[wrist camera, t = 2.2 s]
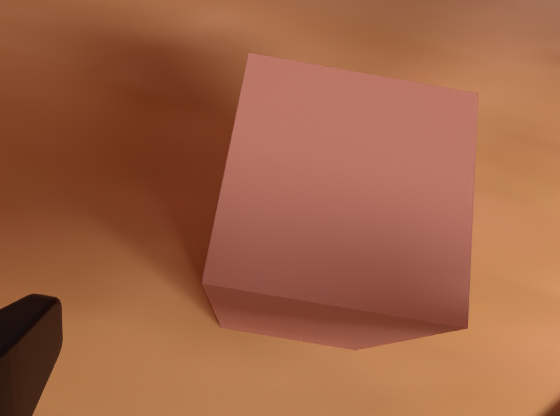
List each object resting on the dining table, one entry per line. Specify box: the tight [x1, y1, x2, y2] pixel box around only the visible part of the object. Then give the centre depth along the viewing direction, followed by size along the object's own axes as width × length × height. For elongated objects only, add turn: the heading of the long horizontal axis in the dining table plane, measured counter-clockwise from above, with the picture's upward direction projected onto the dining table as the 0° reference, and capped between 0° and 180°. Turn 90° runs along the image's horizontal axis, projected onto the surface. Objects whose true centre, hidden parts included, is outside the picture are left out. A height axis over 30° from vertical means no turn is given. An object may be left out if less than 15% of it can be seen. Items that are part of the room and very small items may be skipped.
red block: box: [201, 53, 478, 350], centre depth 15 cm, size 5×5×10 cm
